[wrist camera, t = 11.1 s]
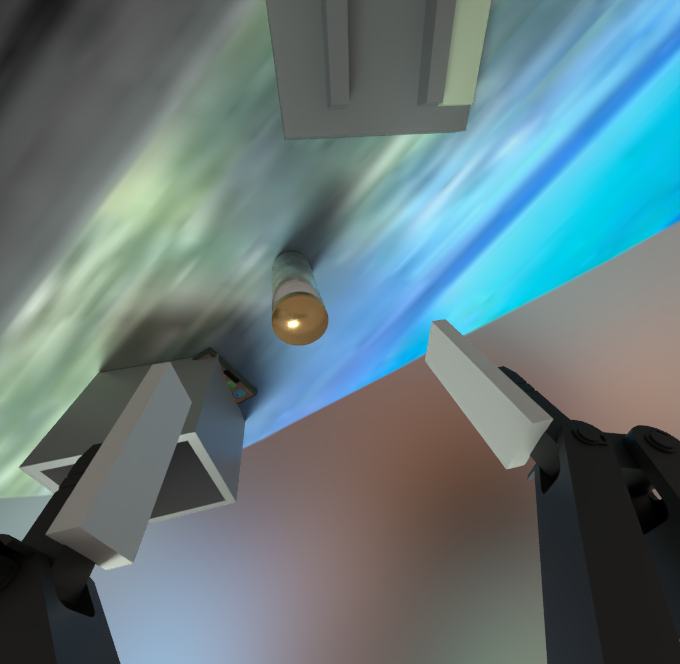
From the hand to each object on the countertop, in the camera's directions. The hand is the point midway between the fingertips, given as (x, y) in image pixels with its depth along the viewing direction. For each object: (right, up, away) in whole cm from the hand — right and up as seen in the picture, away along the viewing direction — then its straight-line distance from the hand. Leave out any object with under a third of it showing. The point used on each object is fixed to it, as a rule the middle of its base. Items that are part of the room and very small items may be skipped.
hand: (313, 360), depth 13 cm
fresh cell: (-3, +7, +11) cm, 14 cm away
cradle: (+4, +21, +4) cm, 22 cm away
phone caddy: (-17, -7, +17) cm, 25 cm away
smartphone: (-17, -6, +17) cm, 25 cm away
